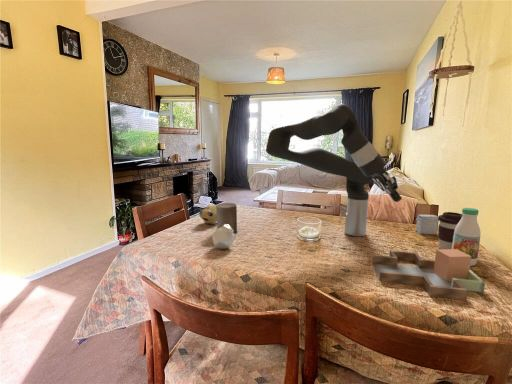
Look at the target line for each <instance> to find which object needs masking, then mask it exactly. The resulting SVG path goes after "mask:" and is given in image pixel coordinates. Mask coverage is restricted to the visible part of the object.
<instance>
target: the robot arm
mask: <svg viewBox="0 0 512 384" xmlns="http://www.w3.org/2000/svg"><path fill="white" fill-rule="evenodd" d="M358 121H359V120H358V119H357V117H356V115H355V113H354V111H353V110H352V108H351V107H350V106H348V105H346V104H344V103H339V104H337V105H335V106H333V108H332V109H330V110H329V111H328V112H326V113H324V114H323V115H316V116H315V115H314V116H313V117H311V118H309V119H306V120H305V121H301V122H298V123H295V124H290V125H285V126H280V127H276V128H274V129H271V130H270V132H269V135H268V138H267V142H266V147H265V148H266V149H265V152H266V153H267V154H268V155H269V156H271V157H273V158H274V157H275V158H278V159H282V160H284V161H285V160H286V161H289V162H293V163H296V164H300V165H303V166H306V167H309V168H310V169H313V170H317V171H319V172H322V173H326V174H329V175H336V176H339V177H340V176H341V177H344V178H346V181H345V182H346V183H345V184H346V185H345V186H346V187H345V189H346V193H347V201H346V202H347V203H346V205H347V206H346V213H345V219H344V234H346V235H349V236H351V237H352V236H353V237H364V236H366V235H367V226H368V225H367V224H368V223H367V221H368V213H369V210H368V209H369V198H370V195H369V192H368V191H367V189H366V188H365V185H368V184H371V183H373V184H374V185H375V186H377V187H378V189H380V190H381V191H382V192H385V193H386V194H388V195H389V197H390V198H391V199H392V200H393V202H395V203H398V202H400V201H401V200H402V199H403V198H402V196H401V195H400V193H399V191H397V190H398V189H399V186H398V183H397V182H398V181H397V177H396V176H394V175H392V176H390V173H389V172H388V171H386V169H385V166H386V164H387V162H386V161H385V160H384V158H383V157H382V155H381V154H380V152H378V150H377V148H376V147H375V146H374V145H373V144H372V143H371V142H370V141H369V140H368V138H367V137H366V136H365V134H364V133H363V132H362V130H361V127H360V124H359V122H358ZM340 131H342V133H343V136H342V138H341V144H342V146H343V147H344V148H345V150H346V151H347V152H348V154H349V155H350V156H351V159H352V160H353V161H352V160H349V159H347V158H345V157H342V156H341V155H338V154H336V153H333V152H331V151H329V150H326V149H324V148H320V147H314V148H310V149H307V150H302V151H294V150H291V149H289V147H290V144H291V138H293V137H295V136H296V137H297V138H299V139H301V140H302V141H303V140H304V141H309V140H313V139H316V138H317V139H318V138H320V137H322V136H330V135H334V134H337V133H338V132H340Z"/></svg>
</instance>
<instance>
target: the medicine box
mask: <svg viewBox="0 0 512 384" xmlns="http://www.w3.org/2000/svg"><path fill="white" fill-rule="evenodd" d="M416 216H417V217H416V226H415V232H416V231H417V232H416V233H418V234H419V235H438V231H439V223H440V221H439V220H438V216H437V215H435V214H417V215H416Z"/></svg>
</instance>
